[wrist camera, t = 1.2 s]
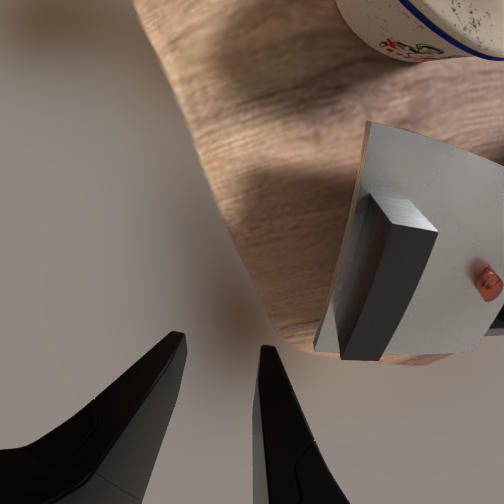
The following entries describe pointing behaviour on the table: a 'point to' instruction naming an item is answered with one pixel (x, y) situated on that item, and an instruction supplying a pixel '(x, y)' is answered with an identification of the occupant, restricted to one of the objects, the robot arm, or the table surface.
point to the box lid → (416, 251)
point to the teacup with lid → (428, 27)
